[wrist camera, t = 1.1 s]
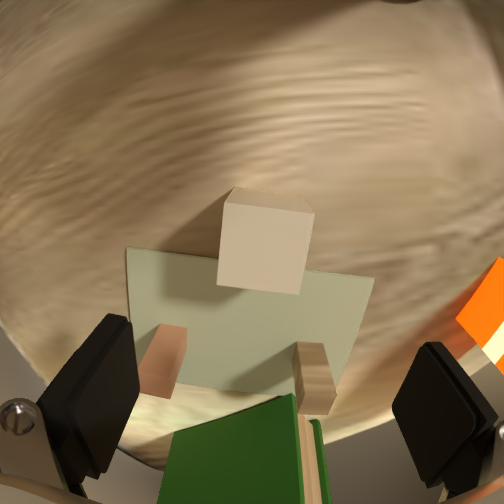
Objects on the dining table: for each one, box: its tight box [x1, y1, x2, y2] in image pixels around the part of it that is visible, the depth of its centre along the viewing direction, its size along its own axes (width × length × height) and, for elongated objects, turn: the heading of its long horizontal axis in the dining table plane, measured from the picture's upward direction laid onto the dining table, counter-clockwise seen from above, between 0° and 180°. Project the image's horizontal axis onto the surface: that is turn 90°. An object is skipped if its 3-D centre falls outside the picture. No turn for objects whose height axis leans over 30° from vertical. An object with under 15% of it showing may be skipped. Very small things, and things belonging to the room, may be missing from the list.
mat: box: [126, 247, 375, 396], centre depth 27 cm, size 15×22×1 cm
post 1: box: [138, 323, 187, 399], centre depth 24 cm, size 3×3×7 cm
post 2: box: [292, 341, 337, 415], centre depth 24 cm, size 3×3×7 cm
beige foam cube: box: [217, 187, 315, 295], centre depth 21 cm, size 5×5×7 cm
